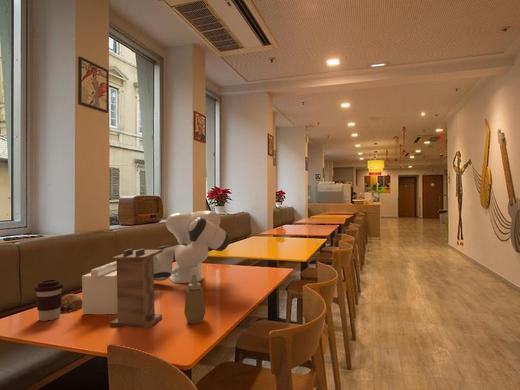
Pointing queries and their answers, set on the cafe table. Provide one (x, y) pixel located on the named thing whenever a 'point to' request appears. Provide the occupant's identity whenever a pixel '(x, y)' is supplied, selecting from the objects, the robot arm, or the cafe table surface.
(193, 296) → the squeeze bottle
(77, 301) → the bread roll
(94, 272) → the brushed metal block
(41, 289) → the coffee cup
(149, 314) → the walnut stand
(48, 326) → the cafe table surface
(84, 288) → the cream tilted cube
